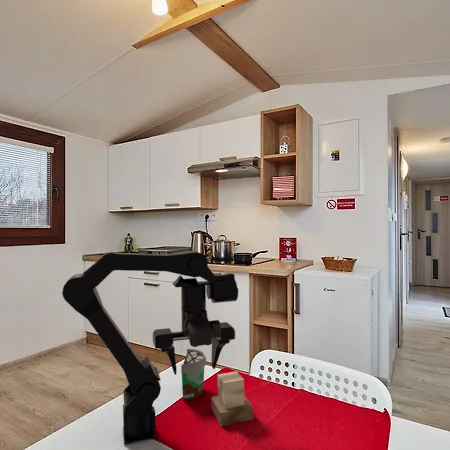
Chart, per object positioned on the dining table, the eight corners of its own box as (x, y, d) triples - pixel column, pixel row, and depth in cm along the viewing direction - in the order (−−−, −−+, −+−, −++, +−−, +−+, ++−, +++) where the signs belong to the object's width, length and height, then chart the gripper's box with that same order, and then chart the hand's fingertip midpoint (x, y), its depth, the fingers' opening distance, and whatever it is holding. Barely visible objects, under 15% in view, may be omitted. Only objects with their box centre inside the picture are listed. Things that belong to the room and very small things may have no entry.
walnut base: (220, 426, 79) (220, 413, 79) (211, 409, 87) (210, 397, 87) (253, 419, 82) (252, 406, 82) (241, 402, 89) (240, 391, 89)
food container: (205, 403, 90) (204, 364, 90) (182, 404, 90) (181, 365, 90) (209, 381, 102) (208, 347, 102) (188, 382, 102) (187, 348, 102)
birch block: (218, 398, 86) (217, 374, 86) (237, 395, 87) (236, 371, 87) (224, 408, 81) (223, 383, 81) (244, 404, 83) (243, 379, 83)
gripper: (157, 316, 71) (159, 393, 71) (243, 308, 77) (244, 379, 77) (151, 305, 82) (152, 371, 82) (227, 298, 88) (228, 361, 87)
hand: (194, 371), depth 82 cm, fingers open, 9 cm apart
